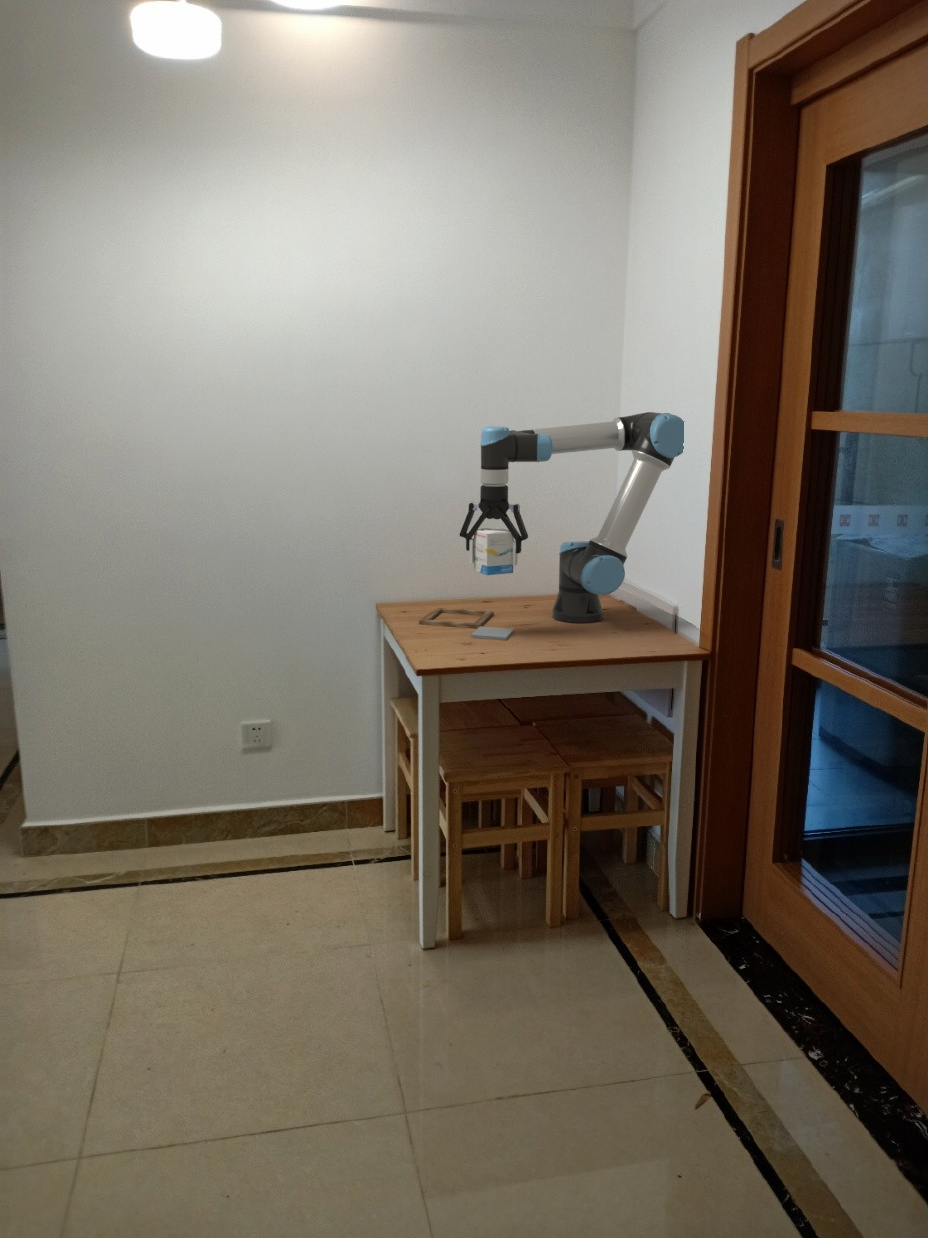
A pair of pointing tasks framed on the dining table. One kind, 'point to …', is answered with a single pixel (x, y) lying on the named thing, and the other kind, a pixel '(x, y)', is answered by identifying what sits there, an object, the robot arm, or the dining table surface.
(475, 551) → the ink box
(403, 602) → the dining table surface
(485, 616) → the pocket frame
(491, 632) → the coaster
